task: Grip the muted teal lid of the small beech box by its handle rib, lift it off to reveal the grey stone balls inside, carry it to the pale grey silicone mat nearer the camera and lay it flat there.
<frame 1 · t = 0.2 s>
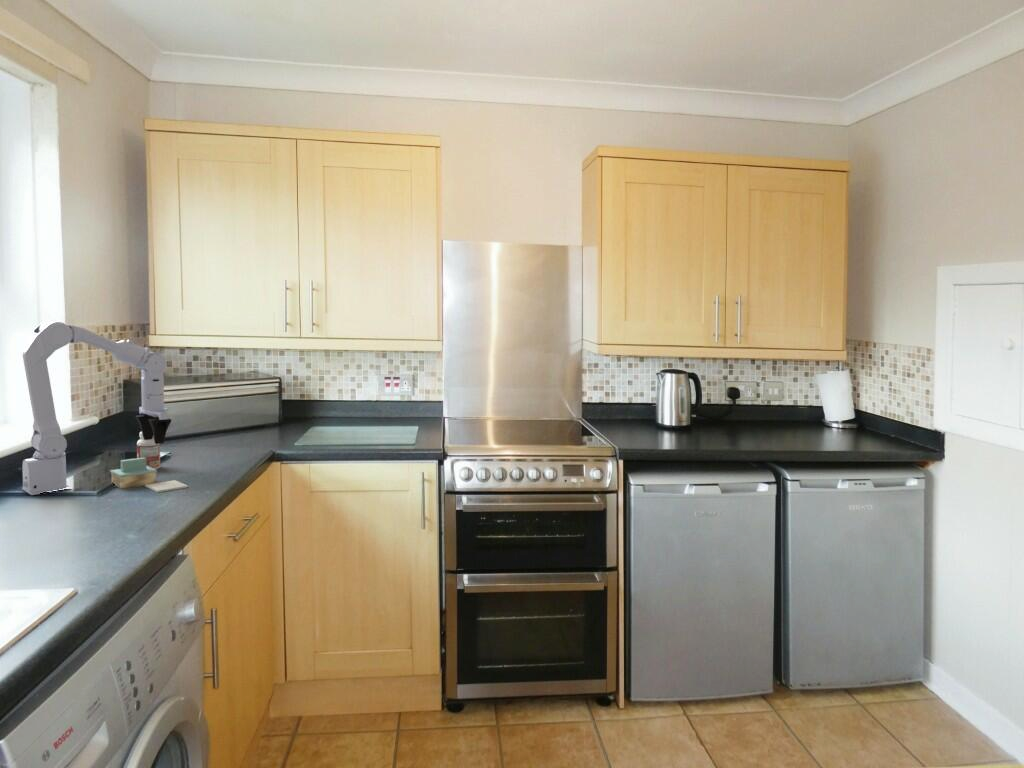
hand: (153, 441, 211), 10 cm above the worktop, fingers open, 7 cm apart
box: (134, 483, 202), on the worktop
mat: (166, 487, 200), on the worktop
pill bottle: (149, 469, 220), on the worktop
lid: (133, 472, 202), point 3 cm above the worktop, touching box
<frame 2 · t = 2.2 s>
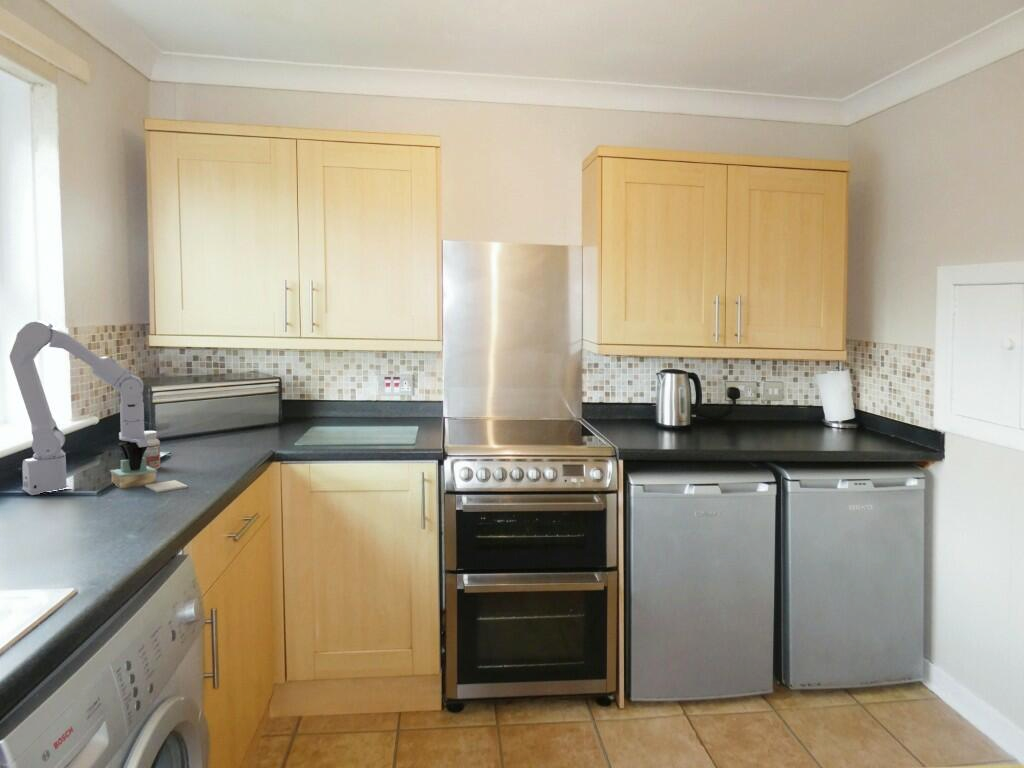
hand: (133, 469, 202), 4 cm above the worktop, fingers closed on lid, 2 cm apart
lid: (133, 472, 202), point 3 cm above the worktop, touching box, gripper
everything else where it was.
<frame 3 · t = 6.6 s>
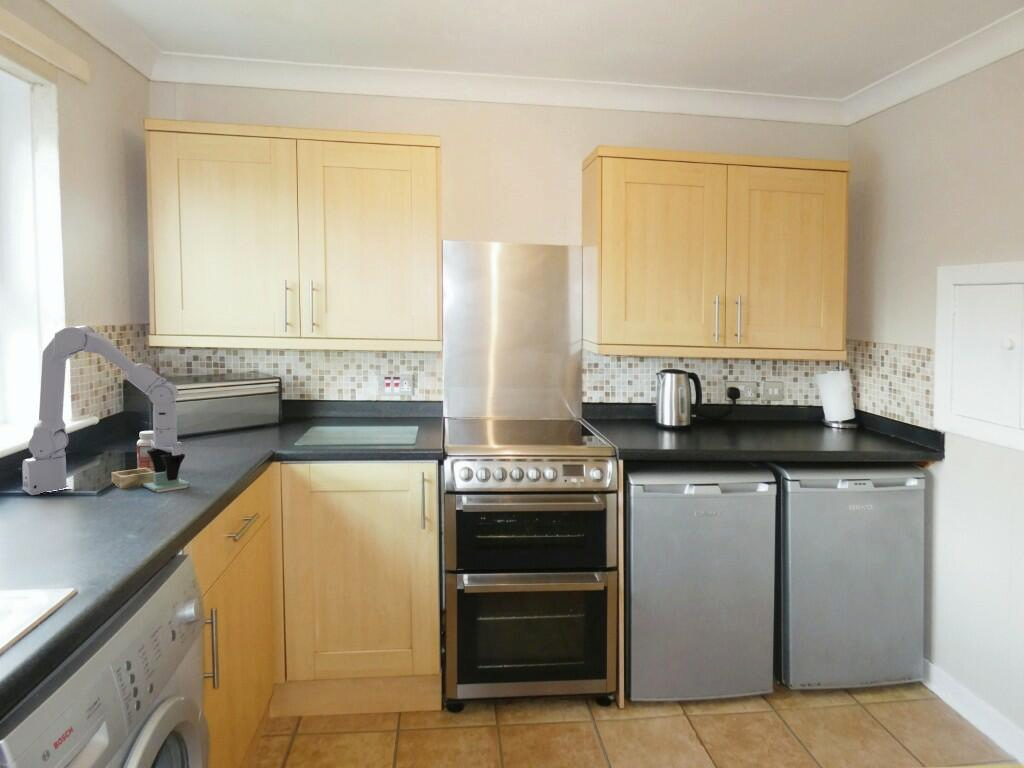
hand: (166, 477, 199), 3 cm above the worktop, fingers open, 7 cm apart
lid: (166, 485, 200), resting on mat
everything else where it was.
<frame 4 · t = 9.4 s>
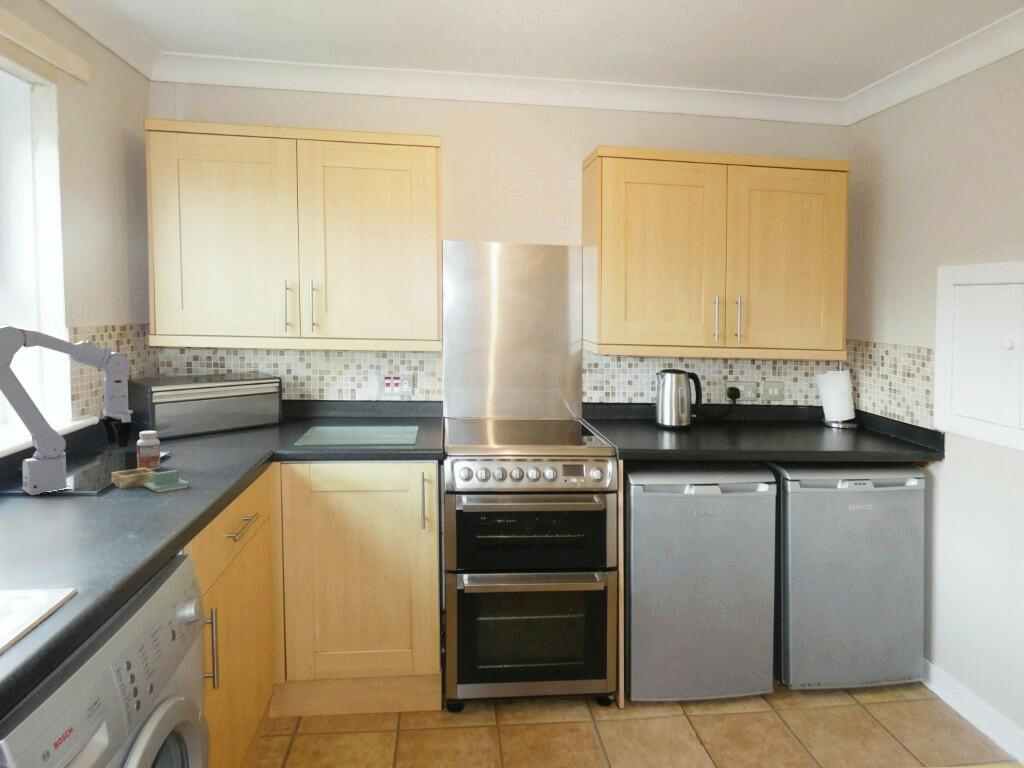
hand: (117, 444, 203), 10 cm above the worktop, fingers open, 7 cm apart
nothing on the worktop moved.
at the end: lid inside the target area on the mat (0.1 cm from its centre), point 0.5 cm above the mat's base; lid tilted 0°; lid touching mat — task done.
